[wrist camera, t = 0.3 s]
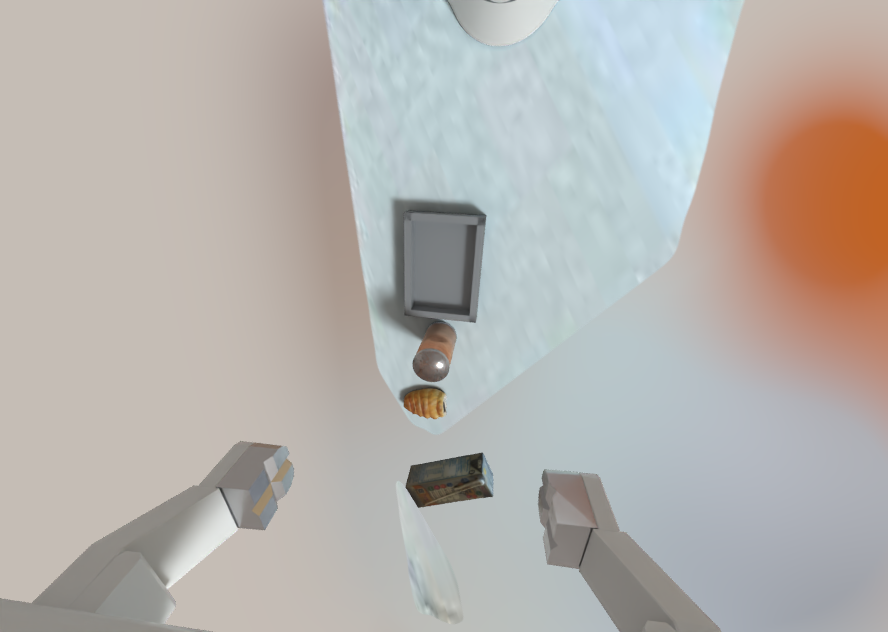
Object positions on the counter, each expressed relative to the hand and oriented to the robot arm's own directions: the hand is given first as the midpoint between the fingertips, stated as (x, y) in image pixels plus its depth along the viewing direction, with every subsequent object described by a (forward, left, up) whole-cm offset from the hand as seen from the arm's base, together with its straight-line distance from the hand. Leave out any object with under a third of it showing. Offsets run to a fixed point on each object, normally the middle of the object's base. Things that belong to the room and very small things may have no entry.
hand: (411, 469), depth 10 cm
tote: (+7, -6, -48) cm, 49 cm away
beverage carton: (+57, -2, -48) cm, 74 cm away
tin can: (+21, -6, -48) cm, 52 cm away
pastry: (+37, -8, -48) cm, 61 cm away
